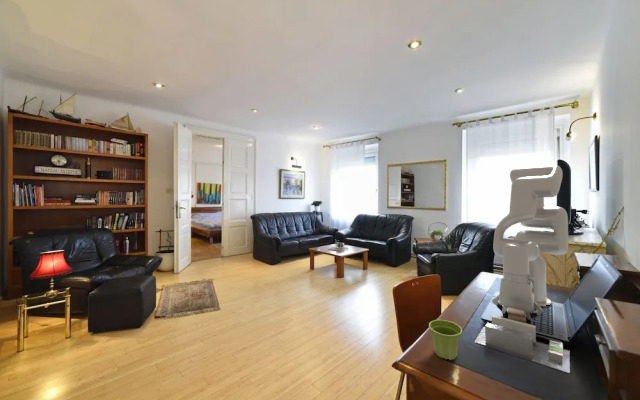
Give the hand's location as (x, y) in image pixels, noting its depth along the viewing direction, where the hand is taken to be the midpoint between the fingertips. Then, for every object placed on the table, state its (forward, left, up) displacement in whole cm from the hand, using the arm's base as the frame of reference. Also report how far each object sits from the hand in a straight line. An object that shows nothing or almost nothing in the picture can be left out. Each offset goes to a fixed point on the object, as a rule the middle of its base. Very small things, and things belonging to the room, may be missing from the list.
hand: (516, 325), depth 95 cm
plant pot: (+33, -14, -1) cm, 36 cm away
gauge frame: (+14, +2, -1) cm, 14 cm away
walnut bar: (0, 0, -1) cm, 1 cm away
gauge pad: (+9, +3, 0) cm, 9 cm away
